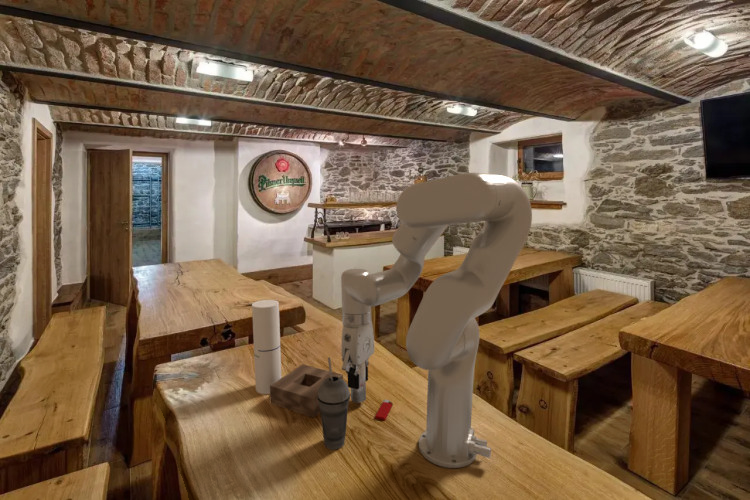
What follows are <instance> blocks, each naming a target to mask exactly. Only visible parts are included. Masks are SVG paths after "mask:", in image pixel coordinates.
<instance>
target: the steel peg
mask: <svg viewBox="0 0 750 500" xmlns="http://www.w3.org/2000/svg"><path fill="white" fill-rule="evenodd" d="M351 361H352V360H351ZM351 367H353V369H354V365H351ZM358 374H359V389H354V388H350V400H351V401H352V402H353V403H363V402H364V401H366V399H367V390H366V389H367V386H366V382H367V381H366V372H365V361H364V362H363V363H362V364H360V365H359V366H358Z"/></svg>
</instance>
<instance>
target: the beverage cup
mask: <svg viewBox="0 0 750 500" xmlns="http://www.w3.org/2000/svg"><path fill="white" fill-rule="evenodd" d="M327 363H328V371H329V372H330V377H329V378H327V379H325V380H324V381H323V382H322V384H321V385H320V387H319V390H318V395H317V398H318V401H319V406H320V410H321V412H320V417H321V427H322V436H323V442H324V443H323V444H324V446H325V448H327V449H328V450H334V451H335V450H339V449H341V448H343V447H344V445H345V443H346V442H345V440H346V435H347V433H346V432H347V423H348V422H347V421H348V420H347V419H348V409H349V403H350V400H351V390H350V387H348V382H346V381H345V379H344V378H343V379H342V378H340V377H336V376H332V372H333V371H332V362H331V357H327Z"/></svg>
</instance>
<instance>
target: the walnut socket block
mask: <svg viewBox="0 0 750 500" xmlns="http://www.w3.org/2000/svg"><path fill="white" fill-rule="evenodd" d="M332 376H336V377H340V378H342V379H343V380H344V374H341V373H337V372H334V371H332ZM329 377H330V372H329V370H326V369H323V368H318V367H315V366H310V365H308V364H301V365H300V366H298V367H296V368H295V369H293V370H291V371H290V372H289V373H287V374H286V375H284V376H281V379H279V380H278V381H276V382H275V383H273V384H272V385H270V394H269V396H270V398H269V399H270V404H271V405H275V406H278V407H280V408H284V409H287V410H290V411H293V412H296V413H300V414H302V415H306V416H308V417H312V418H315V417H316V416H318V415H319V413H321V410H320V406H319V401H318V398H317V395H318V390H319V387H320V385H321V384H322V382H323V381H324V380H325V379H327V378H329Z"/></svg>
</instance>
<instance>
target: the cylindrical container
mask: <svg viewBox="0 0 750 500" xmlns="http://www.w3.org/2000/svg"><path fill="white" fill-rule="evenodd" d="M251 311H252V312H251V313H252V332H253V333H252V334H253V335H252V336H253V337H252V339H253V353H254V354H253V357H254V358H253V359H254V376H255V377H254V378H255V392H257V393H258V394H260V395H270V385H272V384H273V383H275V382H276V381H278V380H279V379H281V378H282V357H281V333H280V332H281V329H280V327H281V326H280V303H279V301H278V300H274V299H263V300H257V301H254V302H252V303H251Z"/></svg>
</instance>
